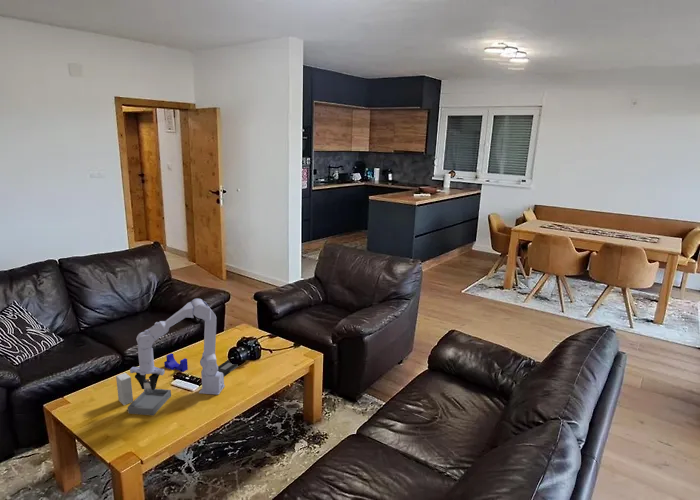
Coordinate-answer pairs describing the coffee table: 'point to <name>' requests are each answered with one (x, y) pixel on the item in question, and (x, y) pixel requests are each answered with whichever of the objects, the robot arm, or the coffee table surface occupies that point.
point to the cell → (147, 386)
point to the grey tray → (149, 402)
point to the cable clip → (175, 363)
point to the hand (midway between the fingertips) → (148, 388)
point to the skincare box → (124, 388)
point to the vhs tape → (227, 367)
